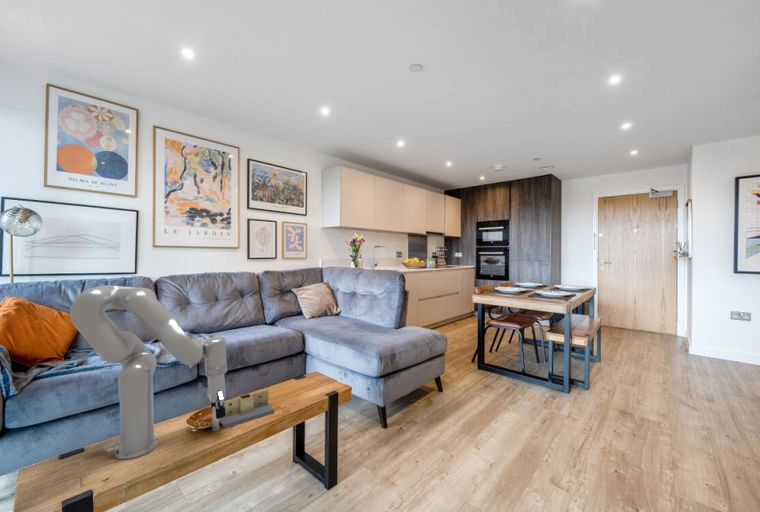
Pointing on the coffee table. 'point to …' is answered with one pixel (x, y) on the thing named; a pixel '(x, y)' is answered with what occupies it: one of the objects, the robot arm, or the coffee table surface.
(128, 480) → the coffee table surface
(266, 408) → the base plate
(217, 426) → the hinge pin
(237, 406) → the hinge
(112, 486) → the coffee table surface
